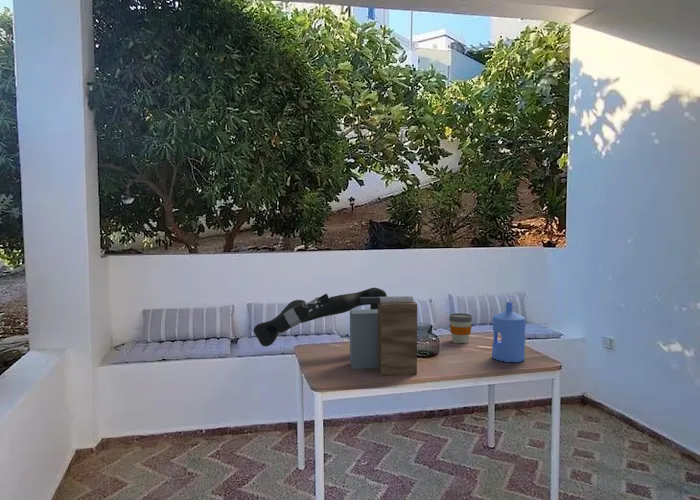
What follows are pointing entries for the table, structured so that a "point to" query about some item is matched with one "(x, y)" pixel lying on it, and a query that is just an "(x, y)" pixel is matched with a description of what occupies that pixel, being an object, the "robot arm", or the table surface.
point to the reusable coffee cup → (460, 327)
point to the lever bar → (386, 299)
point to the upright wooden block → (397, 338)
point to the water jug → (509, 336)
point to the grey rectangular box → (364, 339)
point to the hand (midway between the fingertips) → (328, 296)
